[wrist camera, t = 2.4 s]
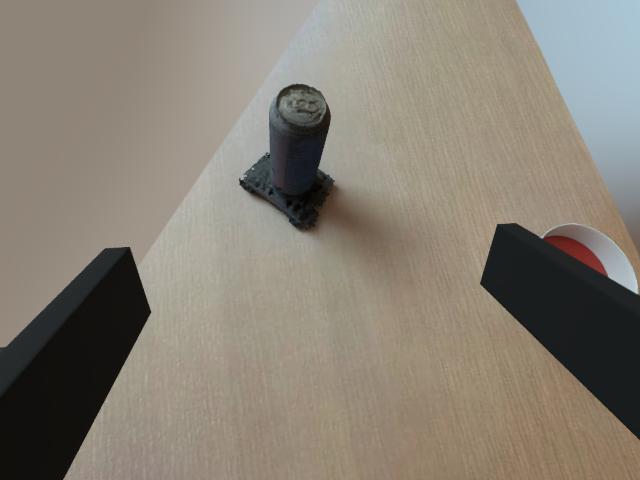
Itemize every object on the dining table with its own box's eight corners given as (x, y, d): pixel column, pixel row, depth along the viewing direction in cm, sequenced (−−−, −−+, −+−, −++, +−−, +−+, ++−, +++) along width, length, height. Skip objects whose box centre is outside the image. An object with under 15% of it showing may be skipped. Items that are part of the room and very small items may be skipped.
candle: (585, 283, 32) (653, 271, 26) (547, 352, 29) (613, 356, 23) (514, 228, 33) (563, 203, 27) (471, 289, 31) (515, 277, 25)
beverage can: (341, 175, 33) (369, 90, 22) (309, 235, 31) (322, 175, 19) (266, 140, 34) (256, 38, 22) (230, 196, 31) (196, 114, 20)
